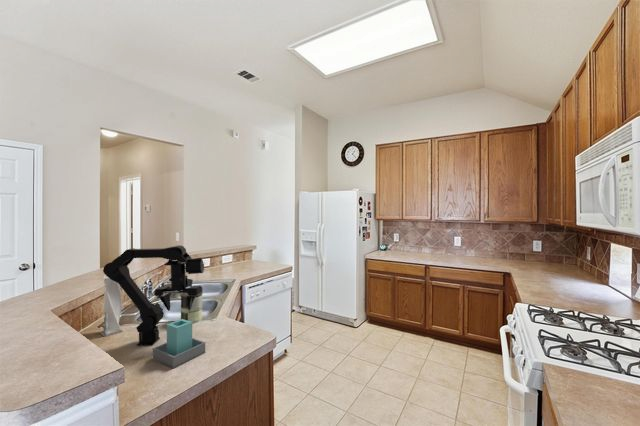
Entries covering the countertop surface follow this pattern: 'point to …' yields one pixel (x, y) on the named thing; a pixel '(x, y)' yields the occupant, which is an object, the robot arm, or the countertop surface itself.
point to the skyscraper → (112, 307)
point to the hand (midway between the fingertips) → (179, 310)
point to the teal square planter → (179, 337)
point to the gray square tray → (175, 361)
